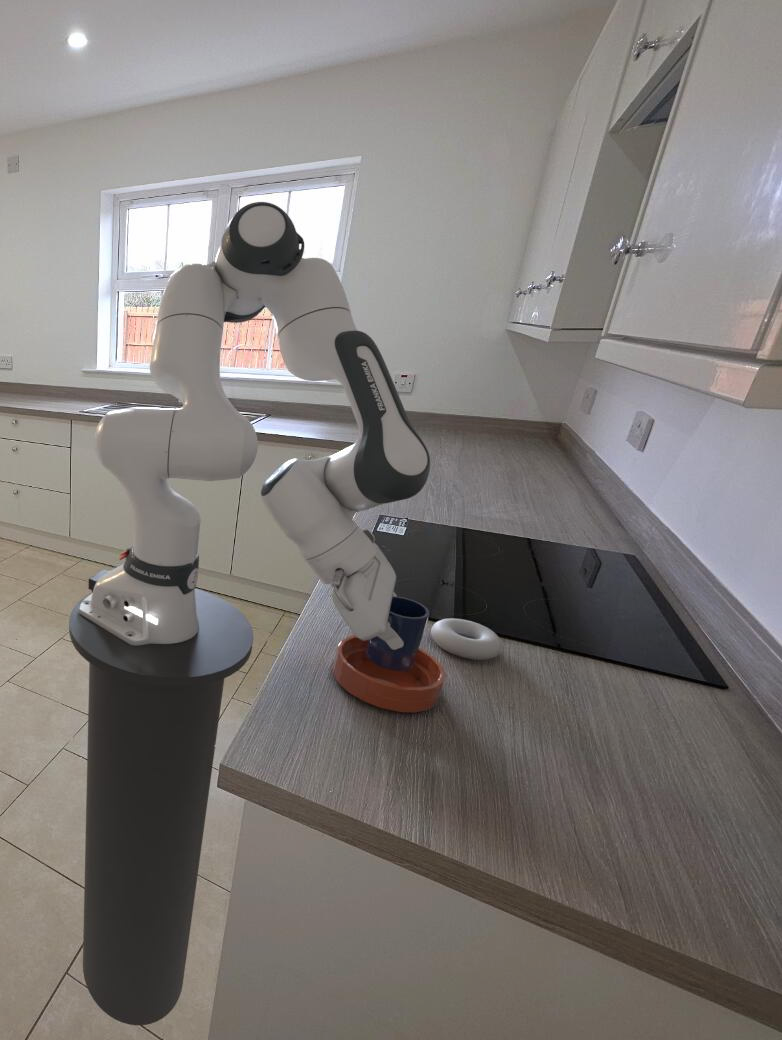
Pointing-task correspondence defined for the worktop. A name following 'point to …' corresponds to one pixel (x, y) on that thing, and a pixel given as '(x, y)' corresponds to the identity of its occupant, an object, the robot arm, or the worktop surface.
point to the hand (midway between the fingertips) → (401, 632)
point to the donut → (466, 639)
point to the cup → (410, 625)
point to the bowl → (388, 679)
